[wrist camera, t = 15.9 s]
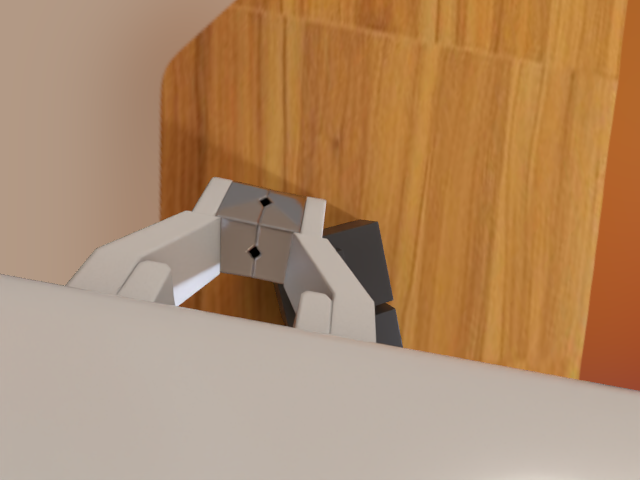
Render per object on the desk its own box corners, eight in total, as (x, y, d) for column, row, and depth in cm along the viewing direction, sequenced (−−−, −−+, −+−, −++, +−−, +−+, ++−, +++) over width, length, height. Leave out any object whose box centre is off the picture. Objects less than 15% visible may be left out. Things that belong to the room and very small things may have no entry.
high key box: (282, 318, 42) (293, 340, 35) (263, 244, 41) (271, 252, 34) (374, 289, 45) (401, 304, 38) (360, 219, 43) (385, 222, 37)
